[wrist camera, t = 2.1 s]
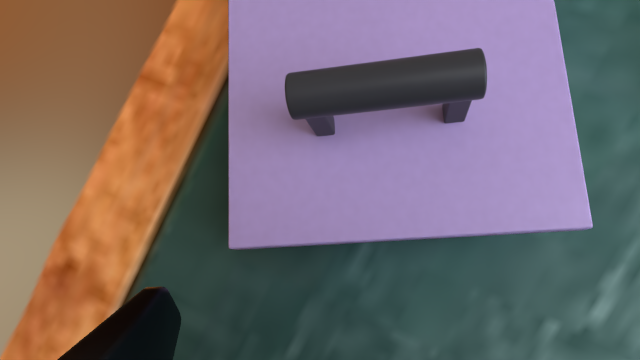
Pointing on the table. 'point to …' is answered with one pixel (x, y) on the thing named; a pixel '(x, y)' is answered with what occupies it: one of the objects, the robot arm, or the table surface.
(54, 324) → the table surface
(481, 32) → the purple square slab
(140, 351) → the robot arm
